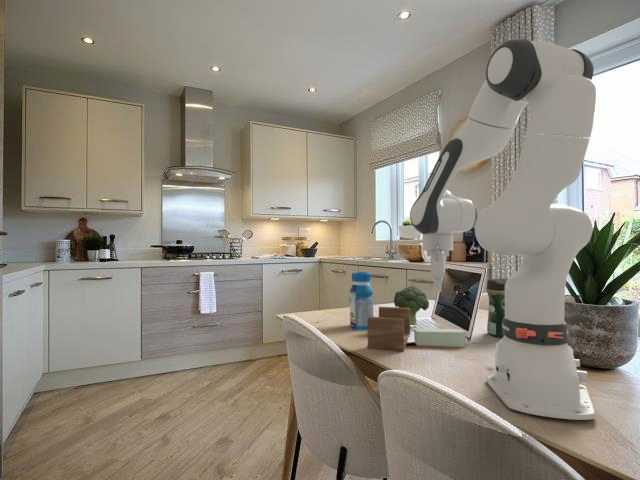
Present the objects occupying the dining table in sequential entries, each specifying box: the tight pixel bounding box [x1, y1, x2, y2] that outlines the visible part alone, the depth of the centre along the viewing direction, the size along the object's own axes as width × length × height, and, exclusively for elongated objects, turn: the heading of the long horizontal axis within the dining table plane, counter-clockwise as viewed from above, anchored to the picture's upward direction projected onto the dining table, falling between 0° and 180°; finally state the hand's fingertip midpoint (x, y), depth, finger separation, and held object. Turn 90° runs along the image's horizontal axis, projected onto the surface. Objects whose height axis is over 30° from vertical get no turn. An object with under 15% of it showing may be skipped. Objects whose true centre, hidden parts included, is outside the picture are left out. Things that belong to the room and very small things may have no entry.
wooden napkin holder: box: [367, 306, 411, 353], centre depth 116 cm, size 20×10×9 cm, turn 161°
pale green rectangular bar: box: [413, 328, 467, 348], centre depth 112 cm, size 14×4×4 cm, turn 85°
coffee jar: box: [486, 277, 508, 338], centre depth 124 cm, size 10×8×19 cm
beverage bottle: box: [349, 271, 375, 331], centre depth 133 cm, size 8×8×20 cm
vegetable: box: [393, 285, 430, 326], centre depth 135 cm, size 12×13×15 cm
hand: (438, 291), depth 113 cm, fingers open, 4 cm apart
